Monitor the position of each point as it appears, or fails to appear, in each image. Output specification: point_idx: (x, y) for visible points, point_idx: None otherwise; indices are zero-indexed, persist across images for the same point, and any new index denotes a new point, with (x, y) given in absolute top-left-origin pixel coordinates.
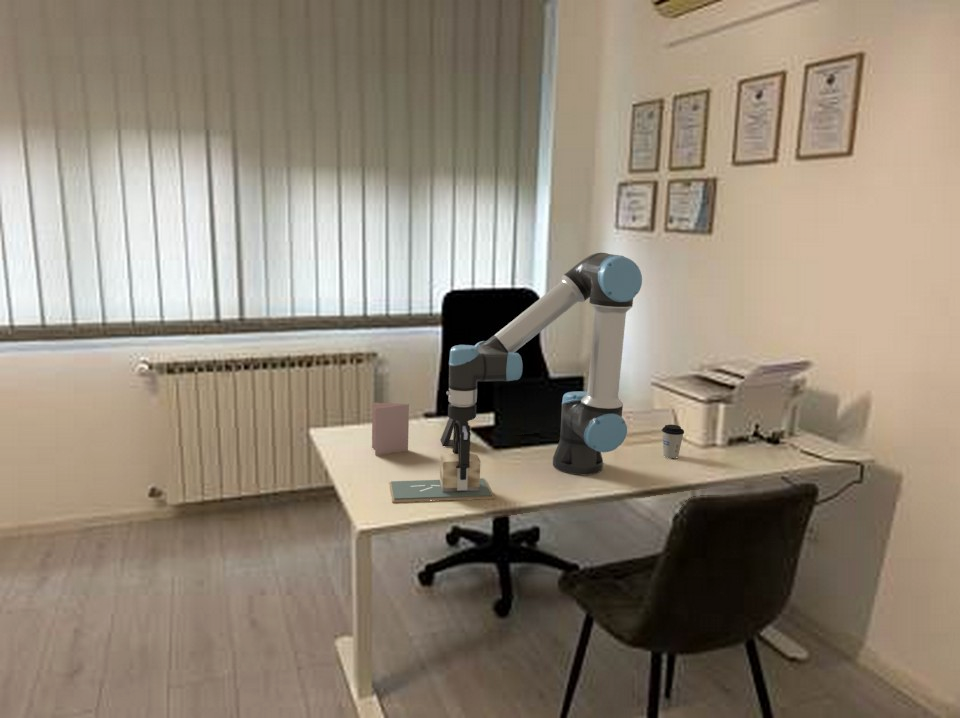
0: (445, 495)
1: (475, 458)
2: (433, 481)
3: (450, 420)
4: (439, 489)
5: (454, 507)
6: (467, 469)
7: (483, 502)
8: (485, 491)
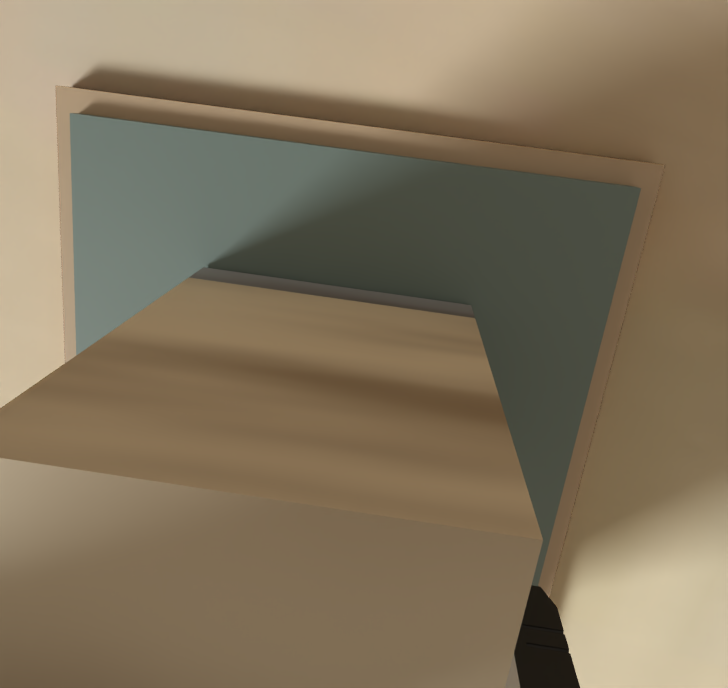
0: None
1: (340, 595)
2: None
3: None
4: None
5: (704, 609)
6: (511, 663)
7: (700, 316)
8: (511, 235)
